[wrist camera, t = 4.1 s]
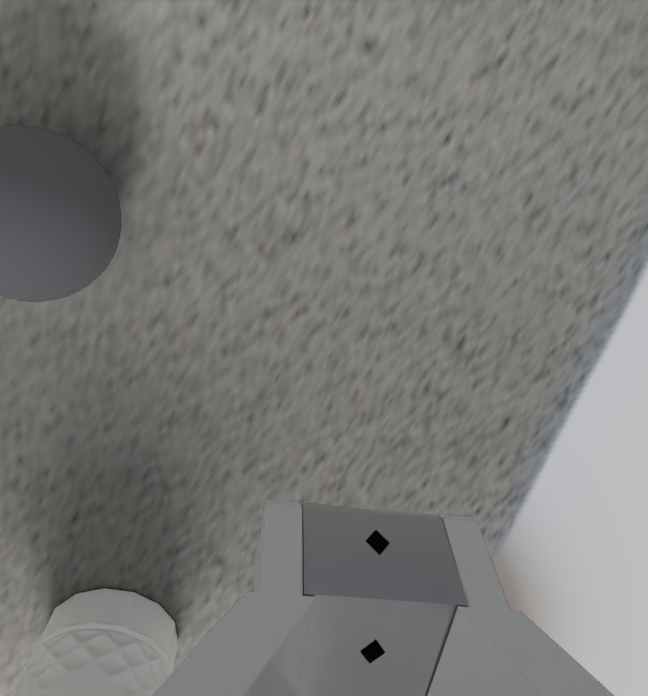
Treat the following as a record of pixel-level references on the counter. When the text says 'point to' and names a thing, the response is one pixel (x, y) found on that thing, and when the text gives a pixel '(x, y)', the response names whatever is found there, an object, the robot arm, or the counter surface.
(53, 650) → the white cup
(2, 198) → the dark gray ball
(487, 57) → the counter surface
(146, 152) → the counter surface
